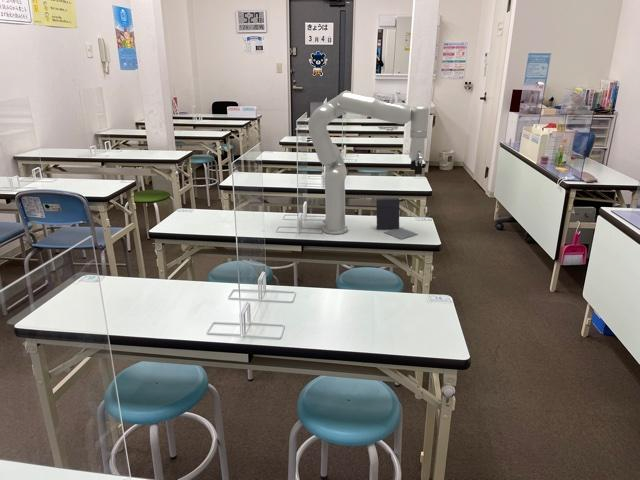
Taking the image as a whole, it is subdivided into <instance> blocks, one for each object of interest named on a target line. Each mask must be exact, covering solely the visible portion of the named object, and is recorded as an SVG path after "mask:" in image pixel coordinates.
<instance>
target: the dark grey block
mask: <svg viewBox="0 0 640 480" xmlns="http://www.w3.org/2000/svg"><path fill="white" fill-rule="evenodd" d="M375 200H376V201H375V202H376V229H377V230H393V229H399V228H400V198H399V197H380V198H379V197H377V198H376V199H375Z"/></svg>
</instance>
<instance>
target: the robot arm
mask: <svg viewBox="0 0 640 480" xmlns="http://www.w3.org/2000/svg"><path fill="white" fill-rule="evenodd" d="M345 113H351V114H357V115H361V116H365V117H369V118H372V119H377V120H381V121H385V122H389V123H393V124H397V125H405V124H407V123H409V122H410V131H409V138H410V147H409V155H408V157H409V158H410V160H411V161H410V170H411V171H414V175H415V176H416V175H418V176H419V175H422V174H423V161H424V159H425V158H424V157H425V145H426V144H425V139H427V138H428V131H429V130H428V127H429V117H430V115H429V114H430V108H429V106H427V105H408V104H407V105H406V104H401V105H397V104H394V103H393V104H392V103H389V102H385V101H382V100H380V99H378V98H377V97H374V96H369V95H364V94H359V93H355V92H353V91H350V90H344V91H342V92H341V93H339V95H336V96H335V97H334V98H332V99H330V100H329V101H327V102H325V103H323V104H321V105H319V106H317V108H316V109H314V111H313V112H312V113H311V115H310V116H309V118H308V123H307V127H308V132H309V136H310V139H311V141H312V146H313V147H314V150H315V152H316V156H317V159H318V161H319V163H320V164H321V165H323V166H324V167H325V170H326V171H325V174H324V180H323V182H324V193H325V195H324V196H325V198H324V200H325V201H324V202H325V204H324V205H325V219H323V220H322V223H324V226H323V227H322V231H323V233H326V234H330V235H340V234H341V235H342V234H345V233H347V232H349V226H347V225H346V187H345V186H346V185H345V184H346V183H345V182H346V178H347V175H348V171H347V167H346V164H345V161H344V158H343V156H342V153H341V150H340V149H339V147H338V145H337V144H336V143H334V142H333V141H332V139H331V136H330V133H329V131H328V129H327V127H328V125H329V124H330V123H331V122H332V121H334V120H335V119H337V118H339V117H340V116H342V115H344V114H345Z"/></svg>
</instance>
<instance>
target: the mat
mask: <svg viewBox="0 0 640 480" xmlns="http://www.w3.org/2000/svg"><path fill="white" fill-rule="evenodd" d="M383 234H385V235H388V236H390V237H393V238H396V239H398V240H401V241H402V240H406V239H407V238H411V237H414V236H418V235H419V233H416V232H414V231H411V230H408V229H406V228H403V227H399V229H389V230H387V231H386V230H385V231H383Z"/></svg>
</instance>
